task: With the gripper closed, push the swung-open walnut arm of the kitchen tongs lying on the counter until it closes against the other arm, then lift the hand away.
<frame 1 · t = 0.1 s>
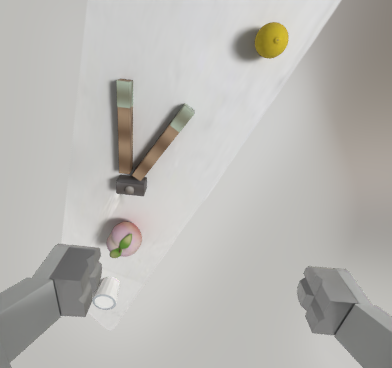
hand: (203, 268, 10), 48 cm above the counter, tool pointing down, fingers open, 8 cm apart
lemon: (265, 41, 48), on the counter
shot glass: (111, 282, 79), on the counter
tongs base: (133, 168, 60), on the counter
decorative fruit: (130, 226, 69), on the counter
tongs arm: (161, 144, 56), point 2 cm above the counter, hinge at 32.0°
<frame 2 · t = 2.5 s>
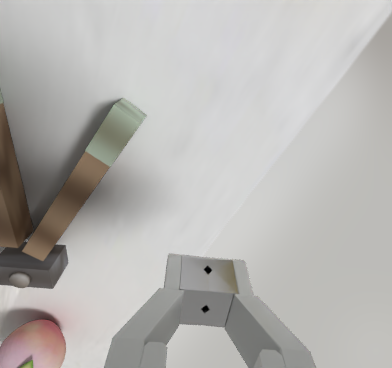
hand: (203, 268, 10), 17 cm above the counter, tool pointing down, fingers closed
tongs base: (36, 230, 30), on the counter
decorative fruit: (51, 320, 39), on the counter
tongs arm: (79, 188, 25), point 2 cm above the counter, hinge at 32.0°
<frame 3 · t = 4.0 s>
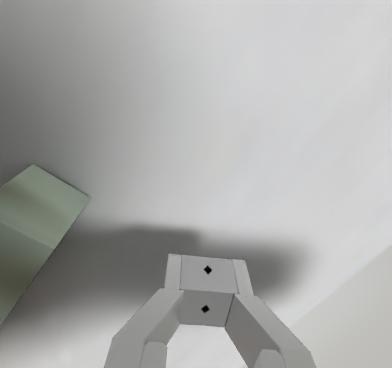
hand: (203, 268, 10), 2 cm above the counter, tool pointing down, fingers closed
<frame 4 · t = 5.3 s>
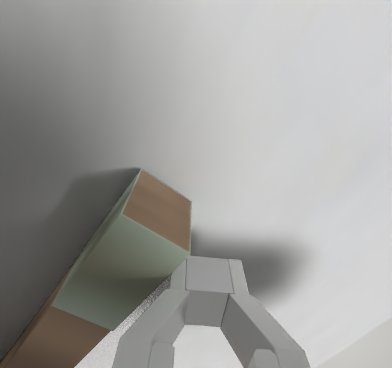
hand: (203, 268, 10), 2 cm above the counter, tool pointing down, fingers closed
tongs arm: (51, 339, 12), point 2 cm above the counter, hinge at 29.8°, touching gripper
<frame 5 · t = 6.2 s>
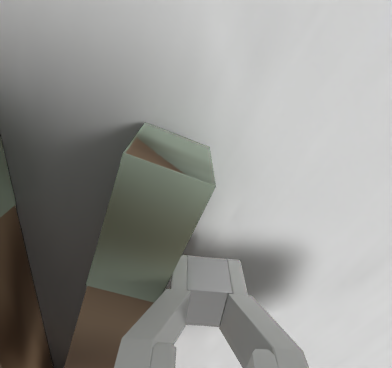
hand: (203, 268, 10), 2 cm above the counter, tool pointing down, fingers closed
tongs arm: (105, 332, 12), point 2 cm above the counter, hinge at 14.1°, touching gripper
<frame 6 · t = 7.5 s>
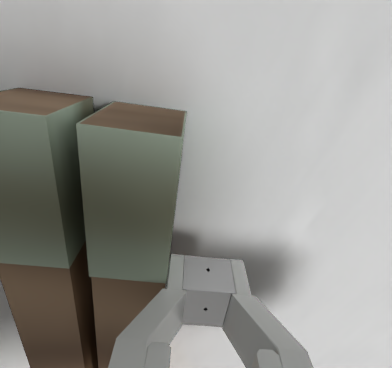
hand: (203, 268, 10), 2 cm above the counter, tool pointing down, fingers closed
tongs arm: (134, 327, 12), point 2 cm above the counter, hinge at 0.9°, touching gripper
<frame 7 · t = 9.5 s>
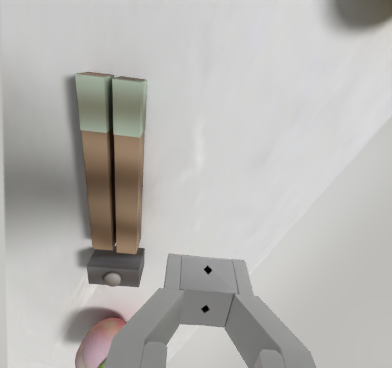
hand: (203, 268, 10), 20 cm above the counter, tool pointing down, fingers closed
tongs base: (121, 235, 34), on the counter
decorative fruit: (117, 318, 42), on the counter
tongs arm: (129, 175, 28), point 2 cm above the counter, hinge at 0.9°
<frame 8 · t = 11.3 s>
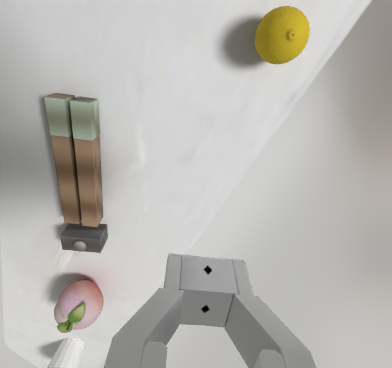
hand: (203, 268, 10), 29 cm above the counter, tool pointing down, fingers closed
lemon: (270, 38, 31), on the counter
shot glass: (73, 343, 63), on the counter
tongs base: (88, 213, 44), on the counter
decorative fruit: (90, 282, 52), on the counter
tongs arm: (89, 167, 38), point 2 cm above the counter, hinge at 0.9°
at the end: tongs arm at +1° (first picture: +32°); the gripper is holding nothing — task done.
